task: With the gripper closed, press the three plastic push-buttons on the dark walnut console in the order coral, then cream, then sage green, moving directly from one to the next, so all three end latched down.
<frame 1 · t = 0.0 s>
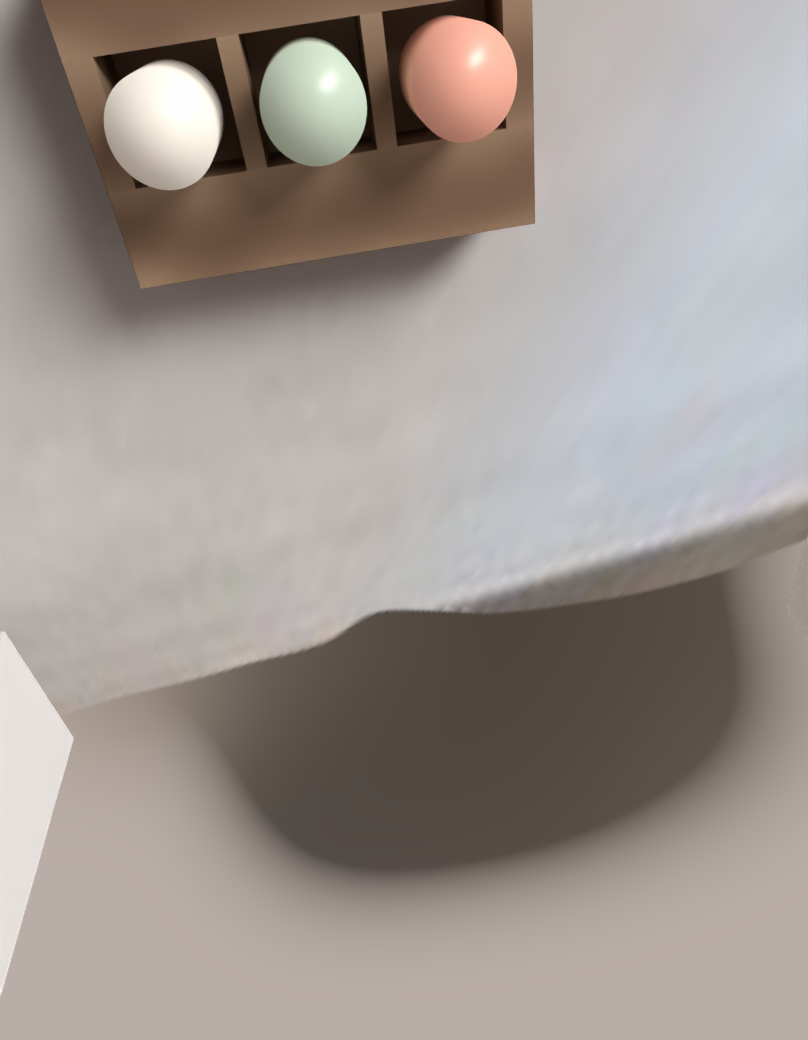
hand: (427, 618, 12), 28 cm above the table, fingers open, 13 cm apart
sage button: (312, 100, 26), point 6 cm above the table, slide at 0.0 cm
console: (308, 80, 31), on the table
coral button: (454, 77, 26), point 7 cm above the table, slide at 0.0 cm
cream button: (168, 123, 26), point 6 cm above the table, slide at 0.0 cm
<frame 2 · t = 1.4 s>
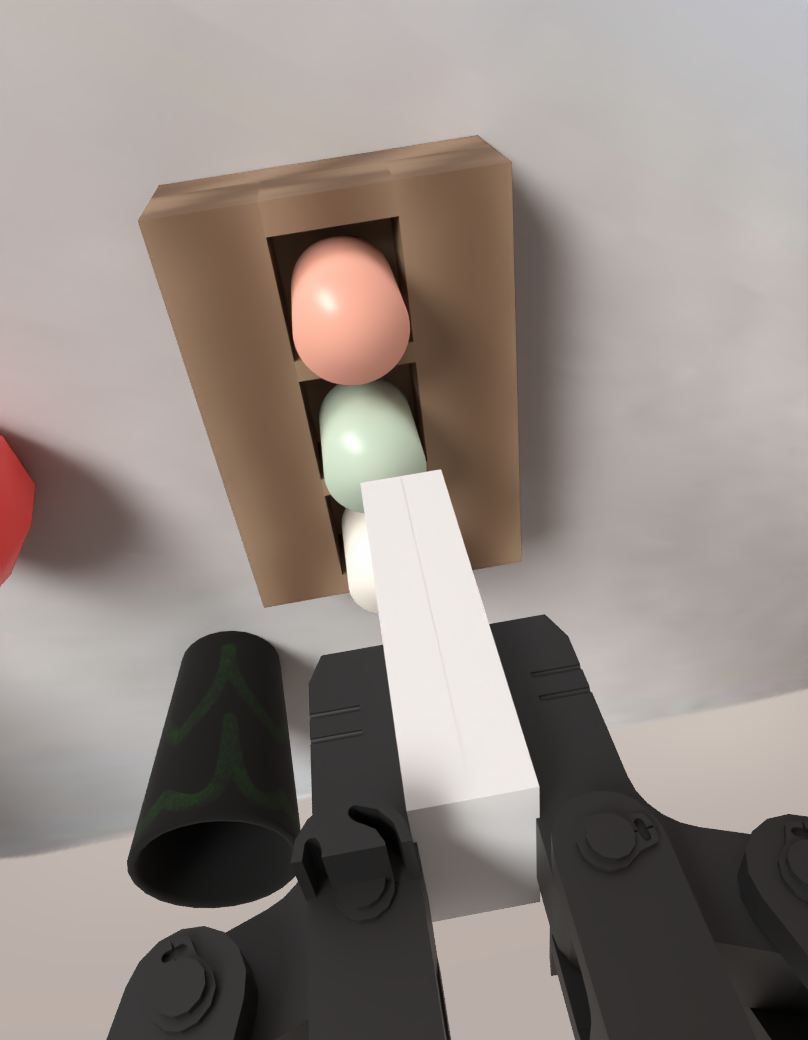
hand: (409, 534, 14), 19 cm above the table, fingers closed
sage button: (370, 443, 27), point 7 cm above the table, slide at 0.0 cm
console: (355, 368, 32), on the table
cup: (231, 662, 42), on the table
coral button: (347, 308, 24), point 7 cm above the table, slide at 0.0 cm
cream button: (388, 549, 30), point 7 cm above the table, slide at 0.0 cm
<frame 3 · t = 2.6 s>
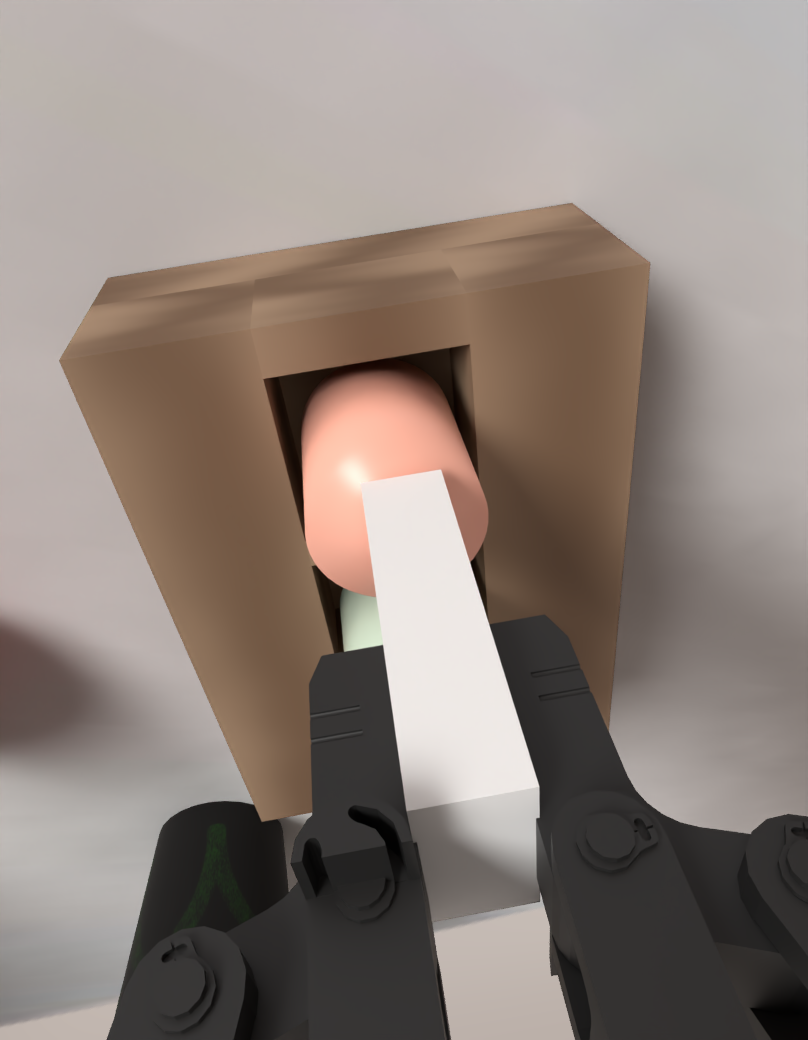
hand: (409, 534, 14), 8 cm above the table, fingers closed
sage button: (415, 653, 18), point 7 cm above the table, slide at 0.0 cm
console: (386, 506, 24), on the table
cup: (222, 832, 34), on the table
coral button: (386, 473, 16), point 6 cm above the table, slide at 0.5 cm, touching gripper
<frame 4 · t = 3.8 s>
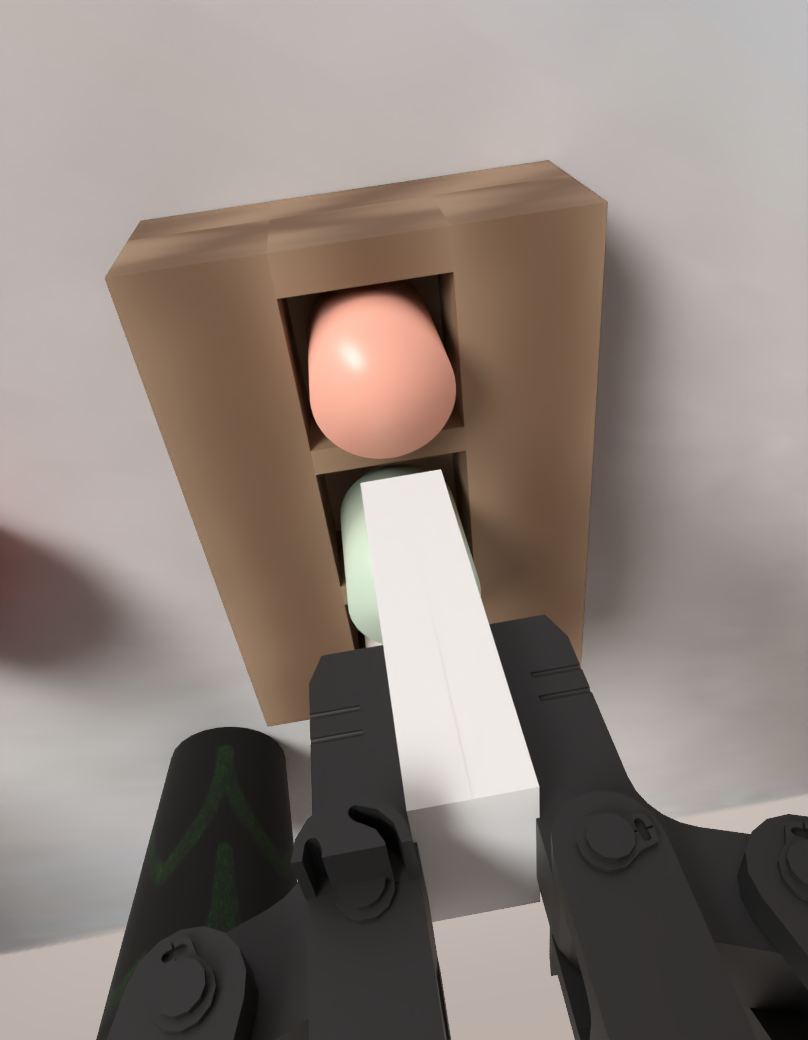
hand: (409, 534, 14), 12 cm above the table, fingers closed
sage button: (405, 553, 21), point 7 cm above the table, slide at 0.0 cm
console: (383, 440, 26), on the table
cup: (229, 759, 36), on the table
coral button: (376, 361, 19), point 5 cm above the table, slide at 1.9 cm
cream button: (422, 671, 24), point 7 cm above the table, slide at 0.0 cm
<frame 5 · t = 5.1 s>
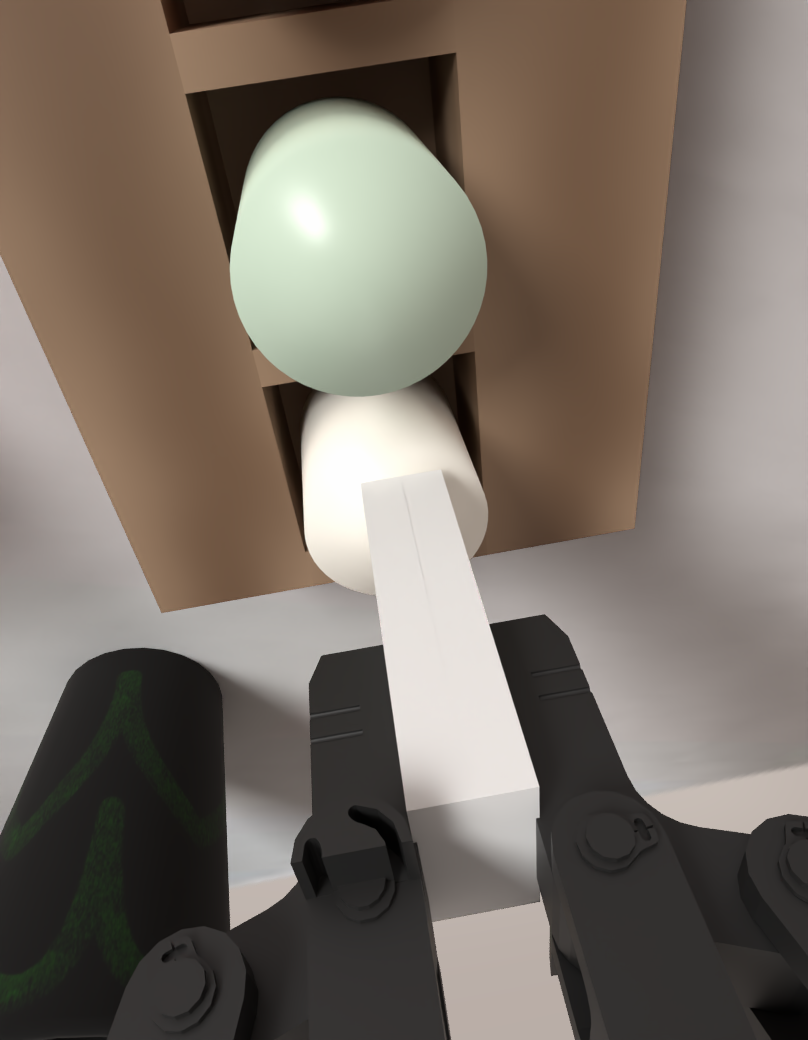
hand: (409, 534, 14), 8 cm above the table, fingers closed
sage button: (350, 239, 12), point 7 cm above the table, slide at 0.0 cm
console: (329, 160, 17), on the table
cup: (146, 696, 27), on the table
cream button: (385, 471, 16), point 6 cm above the table, slide at 1.0 cm, touching gripper
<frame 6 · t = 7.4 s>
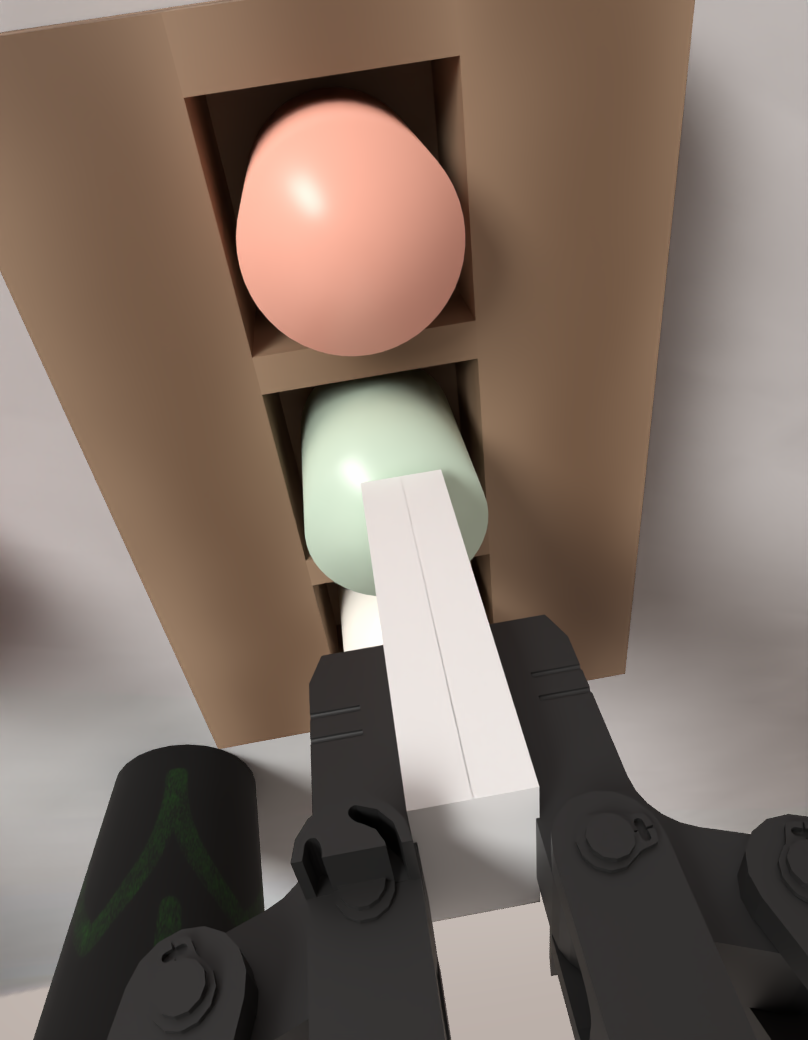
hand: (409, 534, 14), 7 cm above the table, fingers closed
sage button: (386, 472, 16), point 5 cm above the table, slide at 1.3 cm, touching gripper
console: (364, 370, 20), on the table
cup: (187, 782, 30), on the table
coral button: (344, 216, 13), point 5 cm above the table, slide at 1.9 cm
cream button: (409, 622, 19), point 5 cm above the table, slide at 1.9 cm
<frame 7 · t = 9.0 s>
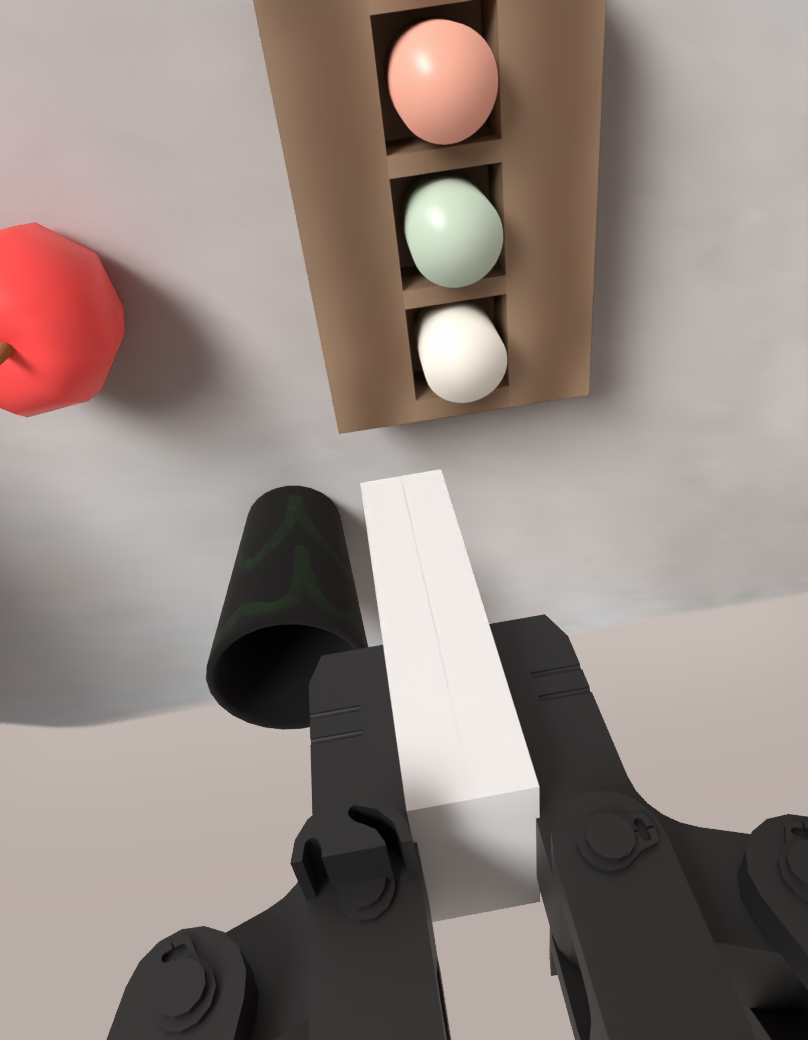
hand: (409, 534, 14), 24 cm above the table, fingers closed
sage button: (449, 227, 29), point 5 cm above the table, slide at 1.9 cm
console: (433, 199, 33), on the table
cup: (294, 522, 43), on the table
coral button: (437, 79, 26), point 5 cm above the table, slide at 1.9 cm
apple: (52, 291, 34), on the table
cream button: (458, 346, 33), point 5 cm above the table, slide at 1.9 cm
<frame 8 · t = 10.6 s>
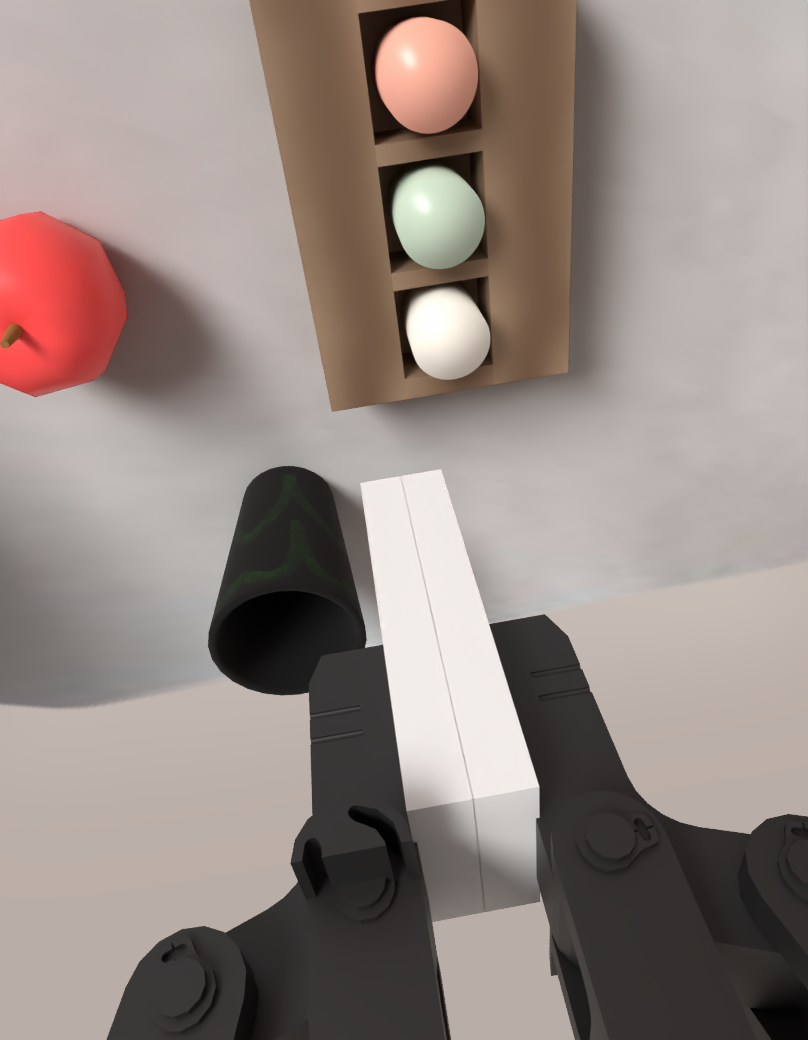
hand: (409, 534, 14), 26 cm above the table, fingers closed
sage button: (434, 212, 31), point 5 cm above the table, slide at 1.9 cm
console: (418, 188, 35), on the table
cup: (288, 502, 45), on the table
coral button: (421, 73, 28), point 5 cm above the table, slide at 1.9 cm
apple: (56, 278, 36), on the table
cream button: (444, 326, 34), point 5 cm above the table, slide at 1.9 cm
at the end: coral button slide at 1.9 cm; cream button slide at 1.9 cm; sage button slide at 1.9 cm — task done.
